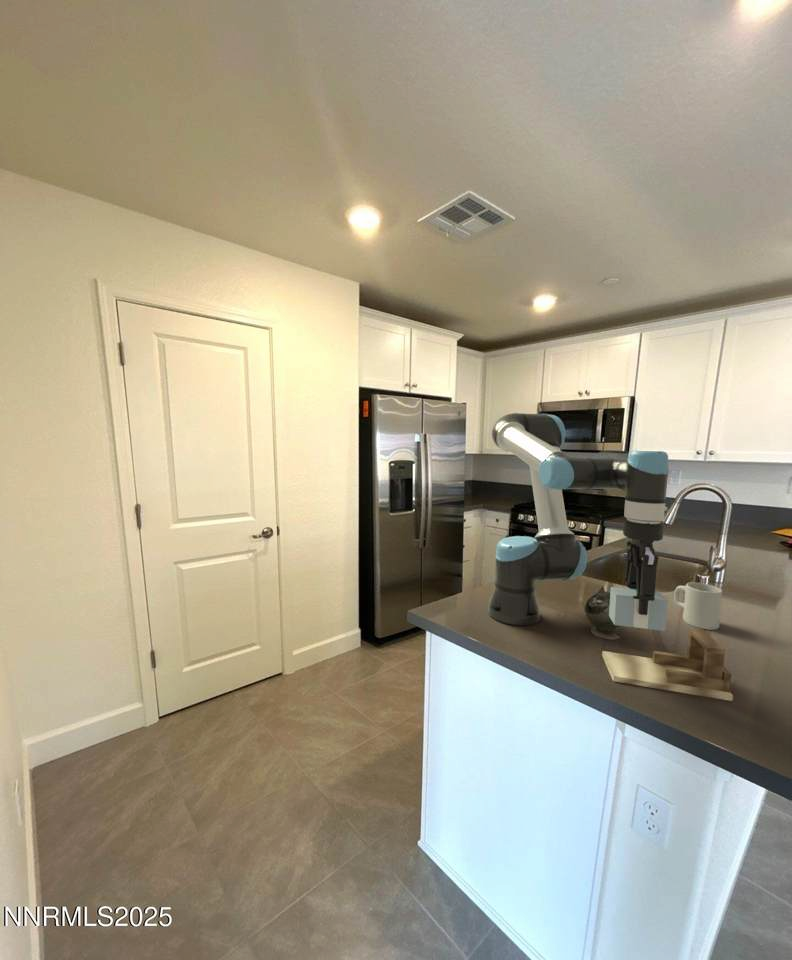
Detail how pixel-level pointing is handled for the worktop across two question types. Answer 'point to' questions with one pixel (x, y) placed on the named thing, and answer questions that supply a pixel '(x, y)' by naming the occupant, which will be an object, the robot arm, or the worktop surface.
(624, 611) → the pale blue tall block
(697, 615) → the mug
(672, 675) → the rail board
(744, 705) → the worktop surface
